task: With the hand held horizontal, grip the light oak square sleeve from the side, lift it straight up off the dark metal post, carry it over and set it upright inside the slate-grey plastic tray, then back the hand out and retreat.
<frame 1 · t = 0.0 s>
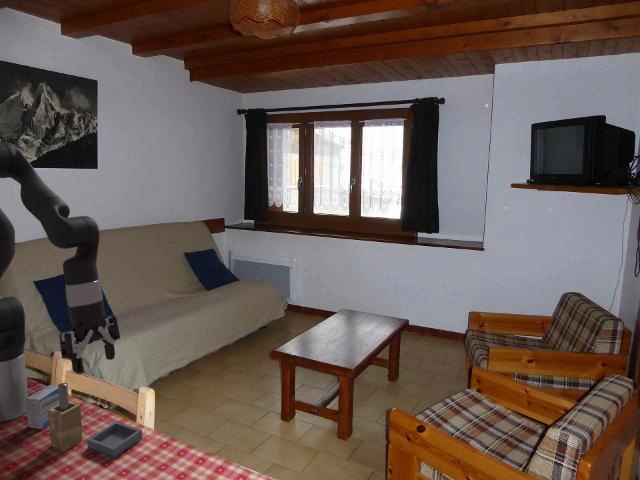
hand: (95, 365, 109), 22 cm above the table, tool pointing down, fingers open, 8 cm apart
medicine box: (46, 421, 124), on the table
sleeve: (66, 443, 115), on the table
post: (66, 443, 115), on the table
tray: (115, 443, 115), on the table
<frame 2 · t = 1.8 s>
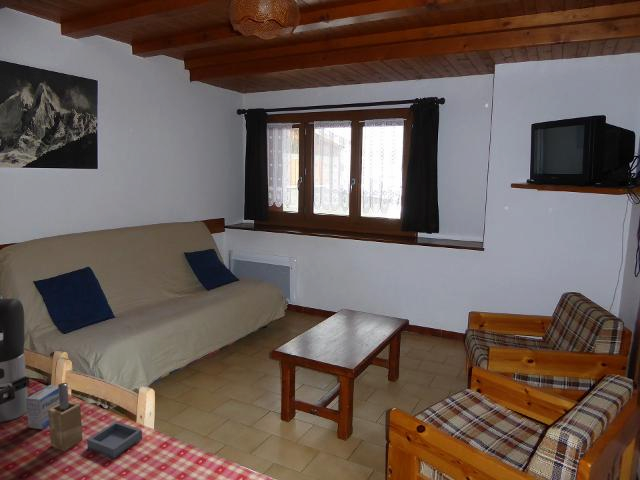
hand: (15, 376, 101), 23 cm above the table, tool horizontal, fingers open, 8 cm apart
nothing on the table moved.
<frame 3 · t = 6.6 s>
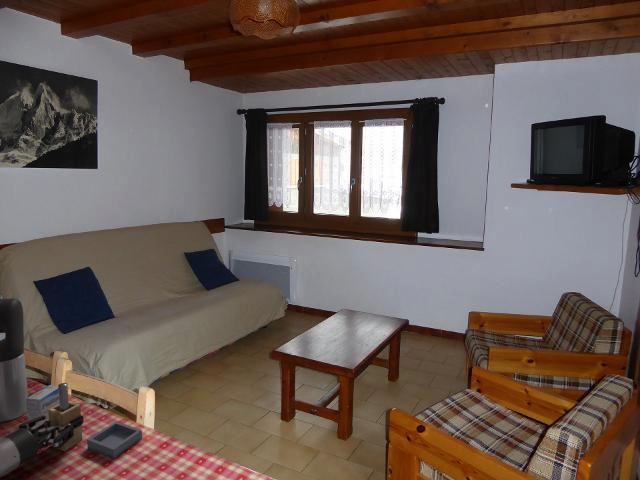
hand: (74, 416, 116), 6 cm above the table, tool horizontal, fingers closed on sleeve, 5 cm apart
sleeve: (66, 443, 115), on the table, touching gripper
everything else where it was.
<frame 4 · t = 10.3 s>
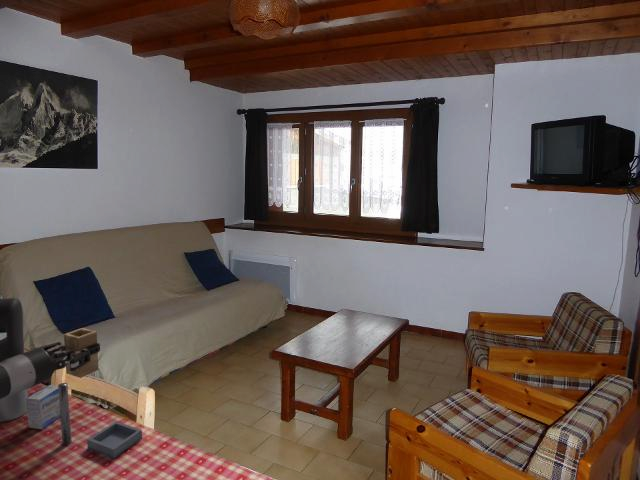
hand: (90, 344, 112), 26 cm above the table, tool horizontal, fingers closed on sleeve, 5 cm apart
sleeve: (82, 371, 111), point 20 cm above the table, touching gripper
everything else where it was.
when the fingers open (7 cm above the table, at t = 13.9 s): sleeve stays where it is, resting on tray.
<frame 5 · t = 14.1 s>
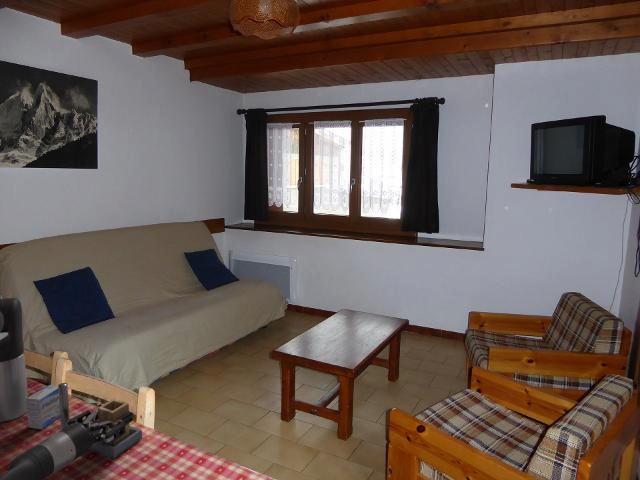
hand: (121, 412, 116), 8 cm above the table, tool horizontal, fingers open, 6 cm apart
sleeve: (115, 441, 115), point 1 cm above the table, touching tray
everything else where it was.
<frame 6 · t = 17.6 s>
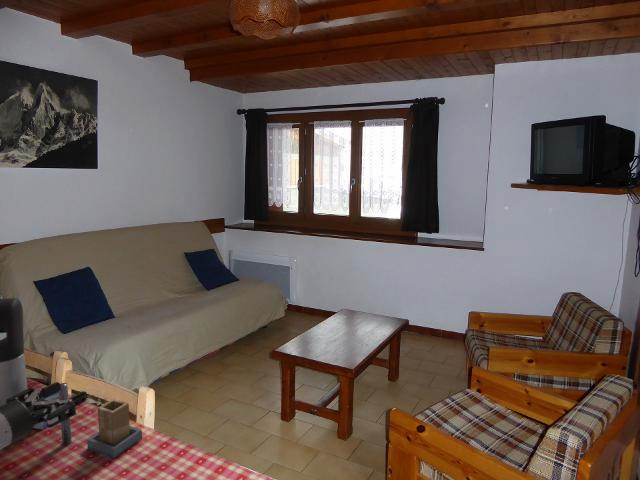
hand: (71, 390, 102), 20 cm above the table, tool horizontal, fingers open, 8 cm apart
nothing on the table moved.
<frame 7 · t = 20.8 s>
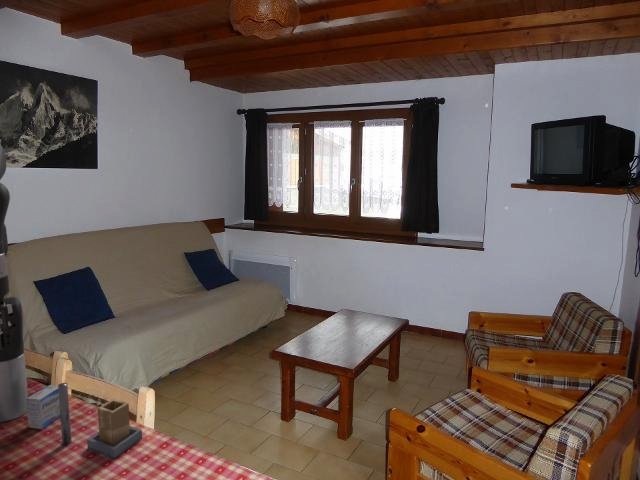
nothing on the table moved.
at the end: sleeve 0.1 cm off-centre on the tray, point 0.6 cm above the tray's base; sleeve tilted 0°; the gripper is holding nothing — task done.
